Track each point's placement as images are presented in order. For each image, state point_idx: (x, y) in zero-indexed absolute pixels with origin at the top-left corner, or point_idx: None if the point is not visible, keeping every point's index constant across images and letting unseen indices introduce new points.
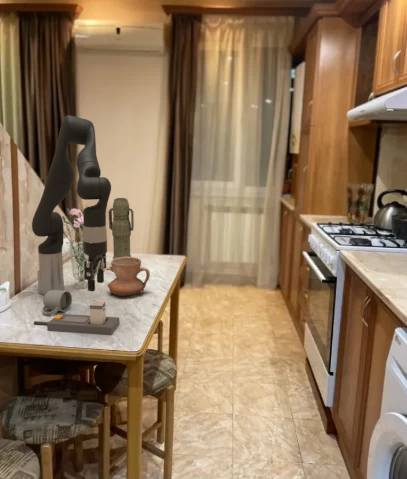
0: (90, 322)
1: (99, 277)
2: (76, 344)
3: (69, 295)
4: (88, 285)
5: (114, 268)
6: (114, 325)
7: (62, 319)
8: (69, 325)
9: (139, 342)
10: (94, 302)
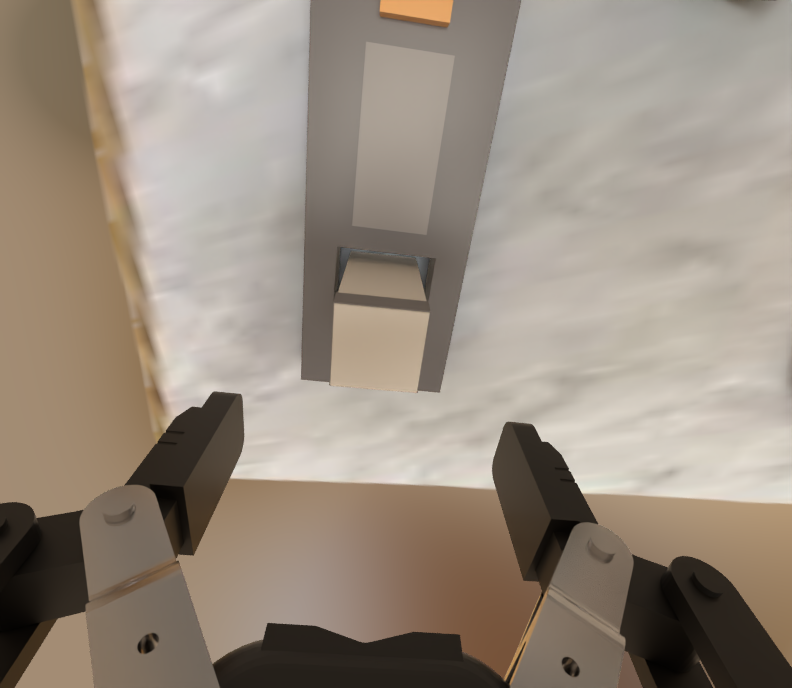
0: (347, 263)
1: (517, 485)
2: (165, 218)
3: None
4: (158, 446)
5: None
6: None
7: (402, 37)
8: (307, 129)
9: (253, 468)
10: (394, 325)
